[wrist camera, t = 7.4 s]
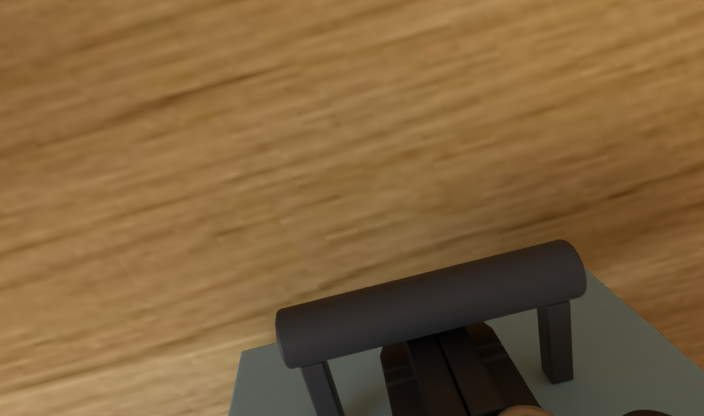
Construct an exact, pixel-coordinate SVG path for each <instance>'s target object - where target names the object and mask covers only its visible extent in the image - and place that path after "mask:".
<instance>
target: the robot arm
mask: <svg viewBox="0 0 704 416" xmlns="http://www.w3.org/2000/svg"><path fill="white" fill-rule="evenodd" d="M380 360H381V365H382V369H383V374H384V379H385V383H386V387H387V392H388V397H389V402H390V406H391V411H392V416H554V415H553V414H551V413H550V412H548V411H546V410H544V409H543V408H542V407H541V406H540V405H539V403H538V402H537V400H536V399H535V397H534V395H533V394H532V392H531V390H530V389H529V387H528V386H527V384H526V382H525V381H524V379H523V377H522V376H521V374H520V372H519V371H518V369H517V368H516V366H515V364H514V363H513V361H512V359H511V358H510V357H509V355H508V353H507V351H506V350H505V348H504V346H503V345H502V344H501V341H500V340H499V338H498V336H497V335H496V333H495V332H494V330H493V328H492V327H490V326H489V325H487V324H486V323H484V322H480V323H476V324H472V325H467V326H463V327H459V328H455V329H451V330H447V331H443V332H439V333H435V334H431V335H427V336H423V337H419V338H415V339H411V340H407V341H403V342H399V343H395V344H391V345H387V346H383V347H382V350H381V353H380ZM623 416H671V415H669V414H666V413H663V412H659V411H654V410H634V411H631V412H628V413H626V414H624V415H623Z"/></svg>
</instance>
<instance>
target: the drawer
mask: <svg viewBox="0 0 704 416" xmlns="http://www.w3.org/2000/svg"><path fill="white" fill-rule="evenodd" d="M480 322H484V323H486V324H487V325H489V326H490V327H492V328H493V330H494V332H495V333H496V335H497V336H498V338H499V340H500V341H501V344H502V345H503V346H504V348H505V350H506V351H507V353H508V355H509V357H510V358H511V359H512V361H513V363H514V364H515V366H516V368H517V369H518V371H519V372H520V374H521V376H522V377H523V379H524V381H525V382H526V384H527V386H528V387H529V389H530V390H531V392H532V394H533V395H534V397H535V399H536V400H537V402H538V403H539V405H540V406H541V407H542V408H543V409H544V410H546V411H548V412H550V413H551V414H553V415H554V416H623V415H624V414H626V413H628V412H631V411H634V410H654V411H659V412H663V413H666V414H669V415H671V416H704V371H703V370H702V369H701V368H700V367H698V366H697V365H696V364H695V363H694V362H693V361H691V360H690V359H689V358H688V357H687V356H686V355H685V354H683V353H682V352H681V351H680V350H679V349H678V348H677V347H675V346H674V345H673V344H672V343H671V342H670V341H668V340H667V339H666V338H665V337H664V336H663V335H662V334H660V333H659V332H658V331H657V330H656V329H655V328H653V327H652V326H651V325H650V324H649V323H648V322H647V321H645V320H644V319H643V318H642V317H641V316H640V315H639V314H637V313H636V312H635V311H634V310H633V309H632V308H630V307H629V306H628V305H627V304H626V303H625V302H624V301H622V300H621V299H620V298H619V297H618V296H617V295H616V294H614V293H613V292H612V291H611V290H610V289H609V288H607V287H606V286H605V285H604V284H603V283H602V282H601V281H599V280H598V279H597V278H596V277H595V276H594V275H593V274H591V273H590V272H589V271H588V270H587V269H586V268H584V266H583V263H582V261H581V259H580V257H579V255H578V253H577V252H576V250H575V249H574V247H573V246H572V245H571V244H570V243H569V242H567V241H565V240H555V241H551V242H547V243H543V244H539V245H535V246H531V247H527V248H523V249H519V250H515V251H511V252H507V253H503V254H499V255H495V256H491V257H487V258H483V259H479V260H475V261H471V262H467V263H463V264H459V265H455V266H451V267H447V268H443V269H439V270H435V271H431V272H427V273H423V274H419V275H415V276H411V277H407V278H403V279H399V280H395V281H391V282H386V283H382V284H378V285H374V286H370V287H366V288H362V289H358V290H354V291H350V292H346V293H342V294H338V295H334V296H330V297H326V298H322V299H318V300H314V301H310V302H306V303H302V304H298V305H294V306H290V307H286V308H282V309H280V310H278V311H277V313H276V320H275V326H276V336H277V343H273V344H269V345H265V346H261V347H257V348H253V349H249V350H245V351H242V352H241V357H240V362H239V367H238V372H237V376H236V381H235V386H234V391H233V396H232V401H231V405H230V410H229V415H228V416H392V411H391V406H390V402H389V397H388V392H387V387H386V383H385V379H384V374H383V369H382V365H381V360H380V353H381V350H382V347H383V346H387V345H391V344H395V343H399V342H403V341H407V340H411V339H415V338H419V337H423V336H427V335H431V334H435V333H439V332H443V331H447V330H451V329H455V328H459V327H463V326H467V325H472V324H476V323H480Z"/></svg>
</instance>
